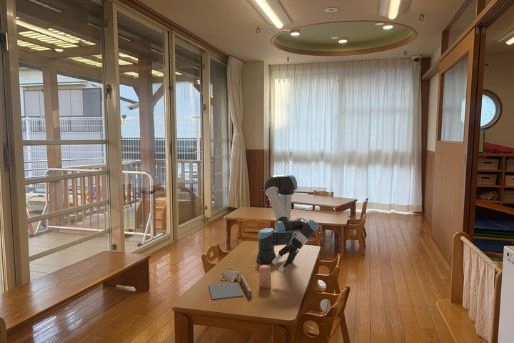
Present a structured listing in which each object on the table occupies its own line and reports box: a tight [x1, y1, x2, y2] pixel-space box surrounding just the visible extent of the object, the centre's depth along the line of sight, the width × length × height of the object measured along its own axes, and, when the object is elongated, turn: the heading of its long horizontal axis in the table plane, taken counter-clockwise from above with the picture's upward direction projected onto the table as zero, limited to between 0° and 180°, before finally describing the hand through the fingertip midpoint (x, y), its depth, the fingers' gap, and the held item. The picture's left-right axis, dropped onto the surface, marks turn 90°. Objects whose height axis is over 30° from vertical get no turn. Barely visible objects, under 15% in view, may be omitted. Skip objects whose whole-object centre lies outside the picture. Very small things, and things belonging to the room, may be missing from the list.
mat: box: [208, 281, 244, 301], centre depth 219 cm, size 20×18×1 cm
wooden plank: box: [239, 274, 253, 299], centre depth 222 cm, size 26×2×4 cm, turn 13°
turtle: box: [219, 266, 243, 283], centre depth 237 cm, size 16×10×10 cm, turn 74°
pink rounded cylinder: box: [258, 264, 272, 289], centre depth 225 cm, size 7×7×12 cm
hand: (276, 267), depth 225 cm, fingers open, 13 cm apart
